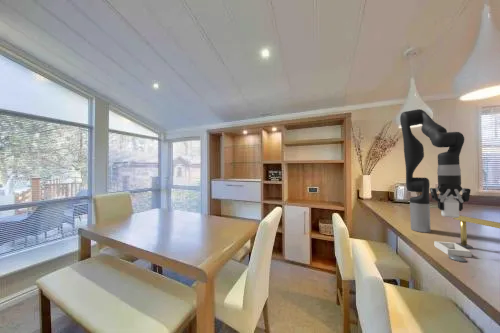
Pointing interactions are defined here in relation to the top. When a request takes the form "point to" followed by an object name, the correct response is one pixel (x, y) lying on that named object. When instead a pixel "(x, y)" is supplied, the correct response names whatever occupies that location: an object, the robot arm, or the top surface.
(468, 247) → the key plate
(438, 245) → the white rectangular frame
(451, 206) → the eye dropper bottle
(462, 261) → the grey round disc
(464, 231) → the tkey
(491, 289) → the top surface
